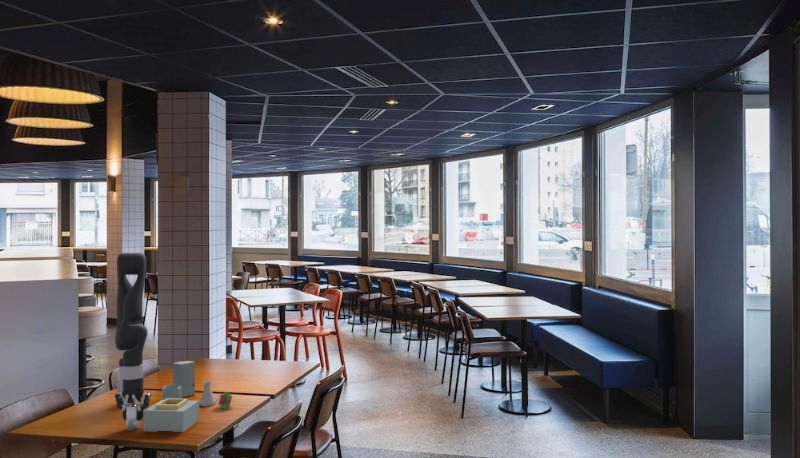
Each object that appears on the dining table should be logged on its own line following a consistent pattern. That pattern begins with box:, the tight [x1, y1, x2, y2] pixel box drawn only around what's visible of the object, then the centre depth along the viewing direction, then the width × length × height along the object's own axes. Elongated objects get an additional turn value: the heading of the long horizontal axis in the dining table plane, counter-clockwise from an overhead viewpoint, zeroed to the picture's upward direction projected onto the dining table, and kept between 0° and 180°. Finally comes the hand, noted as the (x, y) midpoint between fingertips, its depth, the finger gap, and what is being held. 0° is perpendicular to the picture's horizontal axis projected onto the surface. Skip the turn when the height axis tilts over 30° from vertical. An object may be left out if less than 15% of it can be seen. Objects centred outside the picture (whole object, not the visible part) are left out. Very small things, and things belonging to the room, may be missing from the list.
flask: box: [199, 380, 217, 407], centre depth 259 cm, size 7×7×10 cm
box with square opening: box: [143, 398, 200, 433], centre depth 231 cm, size 16×14×10 cm
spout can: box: [125, 402, 141, 431], centre depth 228 cm, size 5×5×10 cm
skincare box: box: [172, 360, 196, 399], centre depth 274 cm, size 8×7×16 cm
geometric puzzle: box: [215, 391, 234, 409], centre depth 255 cm, size 7×7×8 cm
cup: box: [161, 384, 182, 400], centre depth 251 cm, size 8×8×10 cm
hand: (133, 419), depth 228 cm, fingers closed on spout can, 5 cm apart
